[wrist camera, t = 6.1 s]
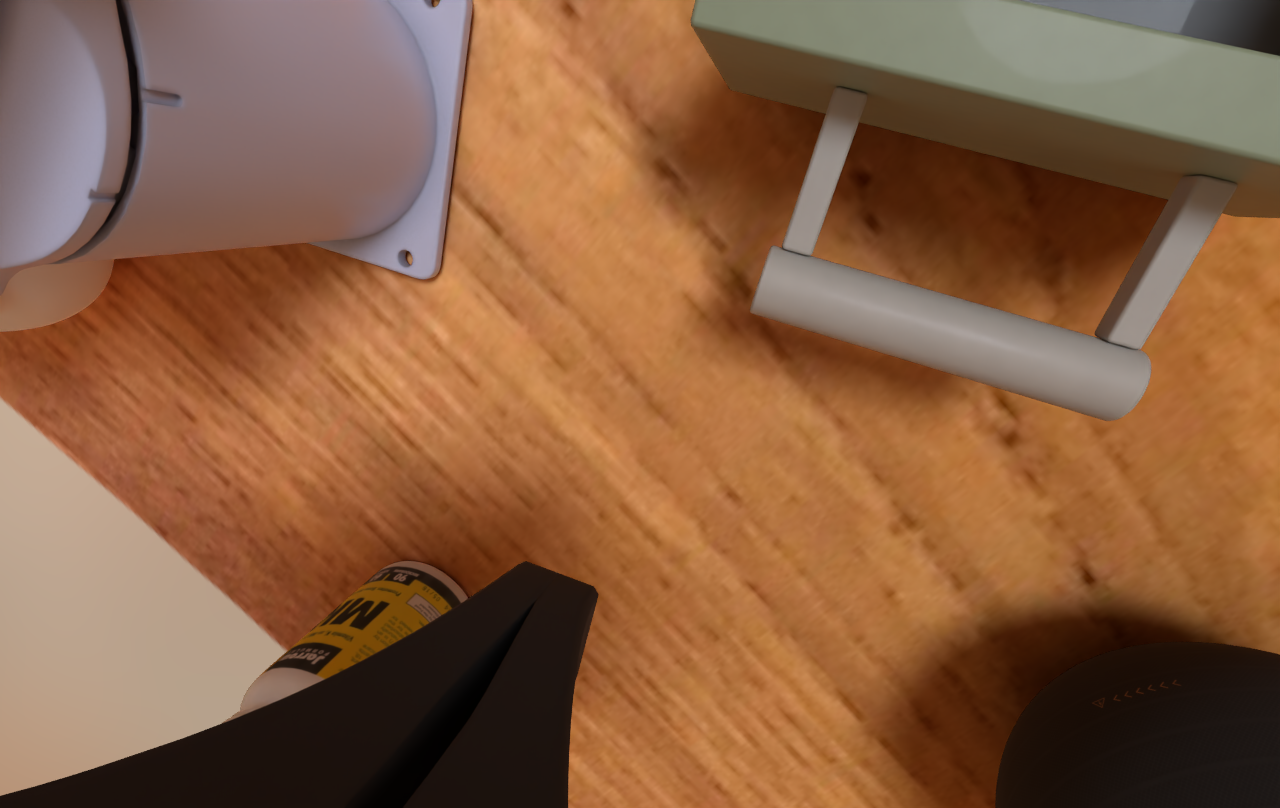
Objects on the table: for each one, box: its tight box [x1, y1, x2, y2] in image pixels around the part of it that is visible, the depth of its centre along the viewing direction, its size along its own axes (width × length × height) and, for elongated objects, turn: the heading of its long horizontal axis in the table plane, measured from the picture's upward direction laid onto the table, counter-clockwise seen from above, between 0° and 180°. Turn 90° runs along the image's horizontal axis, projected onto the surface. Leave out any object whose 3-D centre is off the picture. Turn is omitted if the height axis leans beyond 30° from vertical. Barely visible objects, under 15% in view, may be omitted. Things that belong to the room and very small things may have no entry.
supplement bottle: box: [223, 561, 468, 723], centre depth 20 cm, size 5×5×8 cm
